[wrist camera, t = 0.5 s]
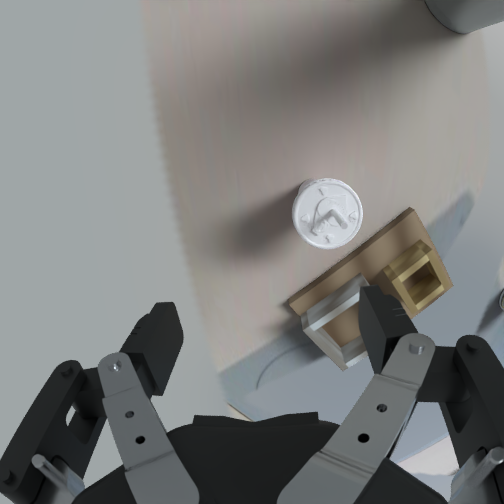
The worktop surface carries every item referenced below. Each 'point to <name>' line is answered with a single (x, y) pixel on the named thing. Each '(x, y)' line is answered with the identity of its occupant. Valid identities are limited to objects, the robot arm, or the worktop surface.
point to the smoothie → (326, 213)
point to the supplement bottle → (502, 301)
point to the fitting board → (371, 273)
